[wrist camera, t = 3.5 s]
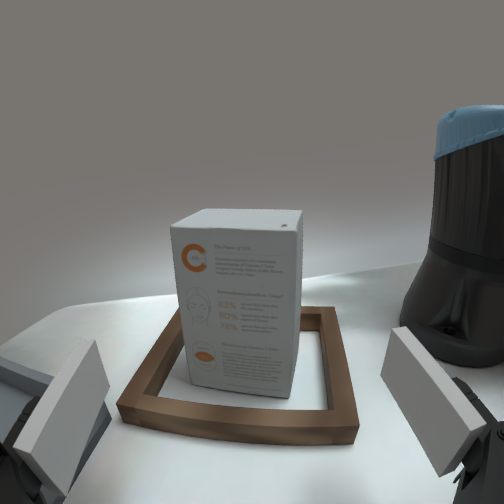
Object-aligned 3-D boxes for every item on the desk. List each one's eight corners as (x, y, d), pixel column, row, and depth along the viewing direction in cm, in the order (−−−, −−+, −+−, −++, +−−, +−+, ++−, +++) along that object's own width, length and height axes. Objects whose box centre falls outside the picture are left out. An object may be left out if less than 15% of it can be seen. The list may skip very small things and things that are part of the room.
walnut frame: (332, 323, 32) (334, 306, 31) (353, 443, 17) (359, 425, 16) (185, 317, 34) (182, 301, 33) (123, 421, 19) (115, 403, 18)
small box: (298, 352, 27) (305, 209, 23) (290, 400, 22) (298, 229, 17) (213, 343, 29) (203, 206, 25) (188, 385, 23) (167, 225, 19)
